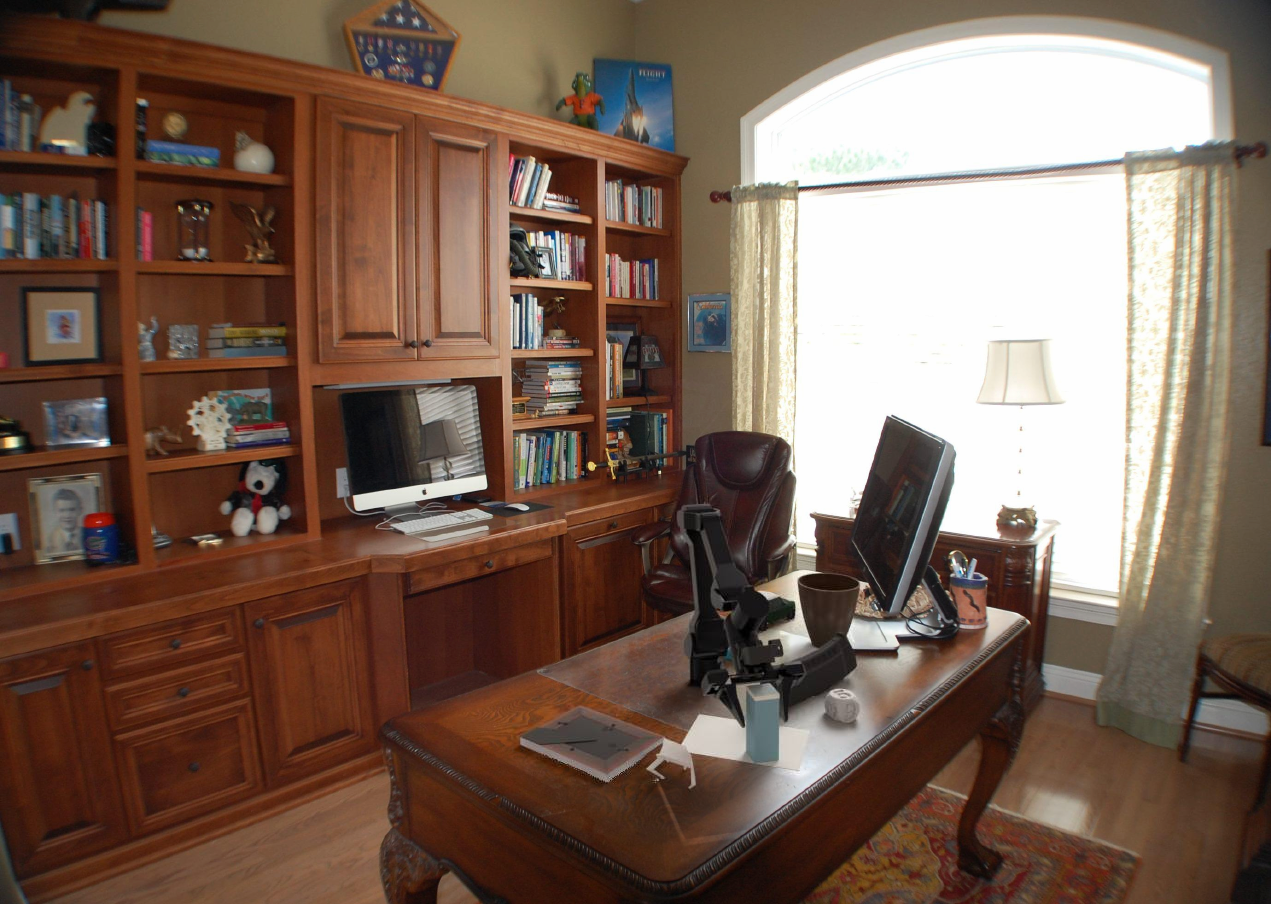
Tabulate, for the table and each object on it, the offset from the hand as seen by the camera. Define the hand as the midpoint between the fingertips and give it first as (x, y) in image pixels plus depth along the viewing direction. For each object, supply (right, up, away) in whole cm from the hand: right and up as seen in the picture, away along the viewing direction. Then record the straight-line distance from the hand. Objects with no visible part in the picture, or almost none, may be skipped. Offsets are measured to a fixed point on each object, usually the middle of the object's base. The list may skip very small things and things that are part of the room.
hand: (765, 724), depth 143 cm
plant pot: (+24, +1, +55) cm, 60 cm away
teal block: (0, -6, +2) cm, 7 cm away
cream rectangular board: (-2, -6, +8) cm, 10 cm away
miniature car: (+11, +3, +72) cm, 73 cm away
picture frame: (-31, -8, +9) cm, 33 cm away
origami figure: (-16, -9, -4) cm, 19 cm away
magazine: (+14, -4, +27) cm, 31 cm away
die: (+18, -5, +17) cm, 26 cm away
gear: (+1, 0, +50) cm, 50 cm away
